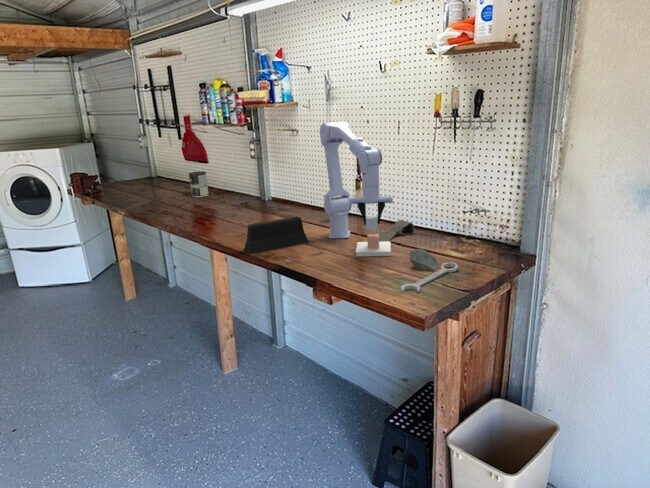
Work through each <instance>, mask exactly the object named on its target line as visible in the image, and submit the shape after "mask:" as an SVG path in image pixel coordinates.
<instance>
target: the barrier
mask: <svg viewBox="0 0 650 488" xmlns="http://www.w3.org/2000/svg"><path fill="white" fill-rule="evenodd" d="M246 233H247V234H246V235H247V237H246V238H247V239H246V242H245V244H244V246H243V247H244V248H243V249H244V250H245V252H247V253H248V254H250V255H255V254H260V253H265V252H270V251H274V250H280V249H285V248H292V247H295V246H301V245H306V244H310V241H309V239H308V237H307V235H306V232H305V230H304V225H303V222H302V217H299V216H297V215H296V216H291V217H285V218H284V217H283V218H280V219H273V220H267V221H261V222H256V223H251V224H248V225H247V232H246Z"/></svg>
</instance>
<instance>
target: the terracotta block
mask: <svg viewBox="0 0 650 488" xmlns="http://www.w3.org/2000/svg"><path fill="white" fill-rule="evenodd" d="M379 234H380V233H378V234H377V233H375V234H367V237H366V239H367V241H366V242H367V243H368V249H379Z"/></svg>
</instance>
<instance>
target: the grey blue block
mask: <svg viewBox="0 0 650 488" xmlns="http://www.w3.org/2000/svg"><path fill="white" fill-rule="evenodd" d="M378 229H379V224H378V215H366V225H365V231H378Z"/></svg>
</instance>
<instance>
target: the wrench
mask: <svg viewBox="0 0 650 488" xmlns="http://www.w3.org/2000/svg"><path fill="white" fill-rule="evenodd" d="M446 267H453V268H446ZM458 269H459V265H458V263H456V262H449V261H448V262H444V263H442V264H441V265H440V269H439V270H436V271H434V273H431V274H430V275H428V276H426V277H424V278H422V279H420V280H418V281H416V282H414V283H405V284H401V286H400V291H401V292H402V293H405V291H406V290H415V291H416V293H419V292H421V288H422V286H424V285H426V284H428V283H429V282H430V283H431V282H432V281H434V280H435V279H437V278H439V277H441V276H443V275H444V274H448V273H454V272H456V271H458Z"/></svg>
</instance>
